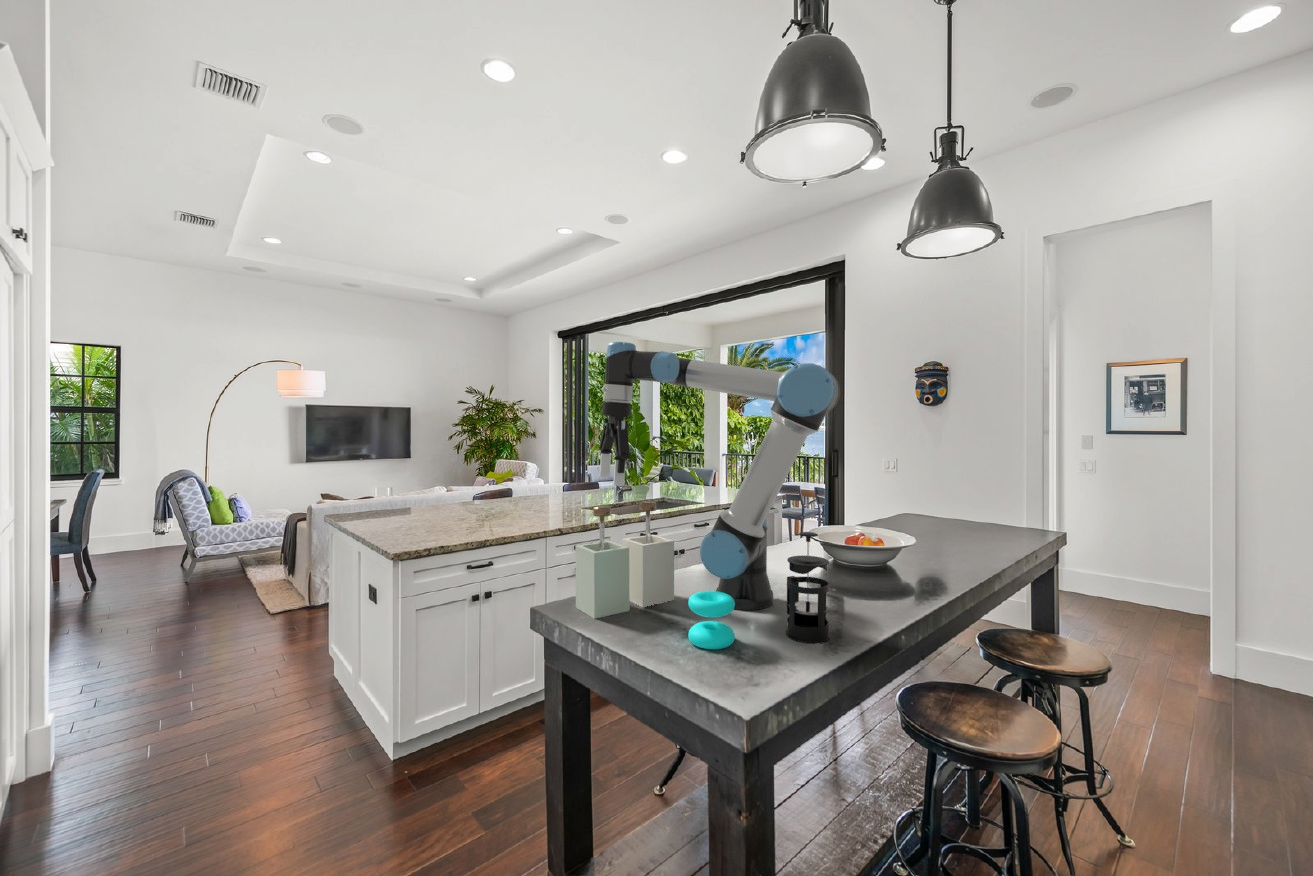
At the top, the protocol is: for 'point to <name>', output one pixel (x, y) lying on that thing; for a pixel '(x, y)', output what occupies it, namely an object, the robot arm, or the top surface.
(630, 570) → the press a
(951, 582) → the top surface
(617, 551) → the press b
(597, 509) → the plunger
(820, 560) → the french press
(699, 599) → the donuts
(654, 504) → the plunger
